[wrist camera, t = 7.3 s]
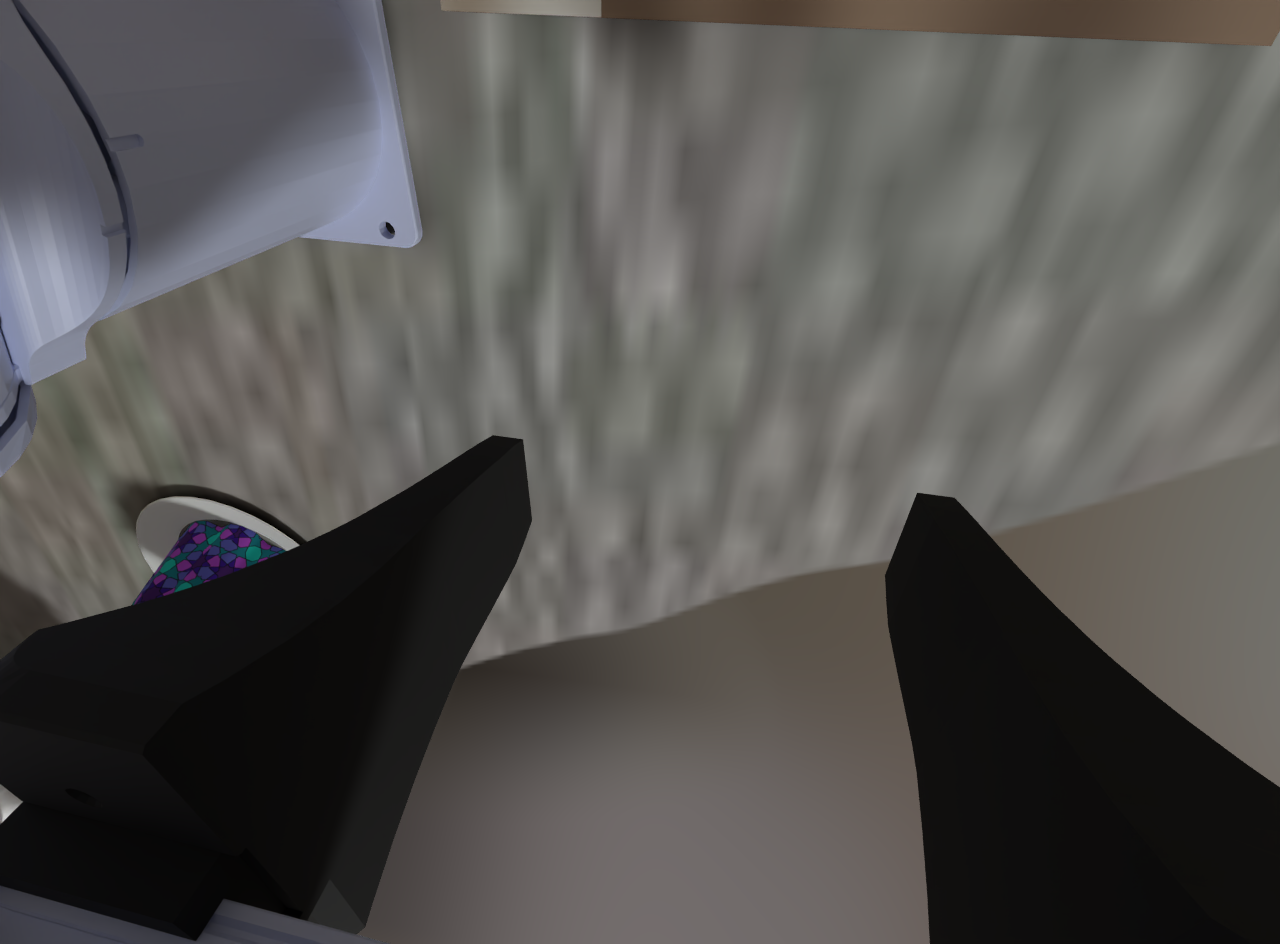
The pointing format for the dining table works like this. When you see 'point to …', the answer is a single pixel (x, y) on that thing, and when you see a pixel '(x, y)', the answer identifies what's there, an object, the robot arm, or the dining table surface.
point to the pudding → (199, 543)
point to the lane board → (946, 16)
